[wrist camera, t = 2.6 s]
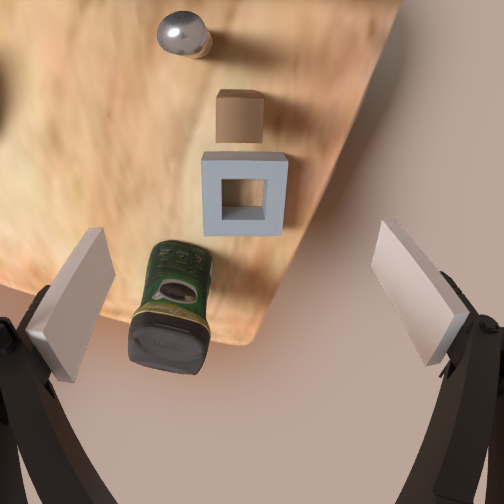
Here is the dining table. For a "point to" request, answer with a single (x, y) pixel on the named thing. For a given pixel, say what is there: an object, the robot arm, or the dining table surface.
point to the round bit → (184, 35)
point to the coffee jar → (173, 310)
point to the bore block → (244, 217)
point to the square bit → (239, 116)
